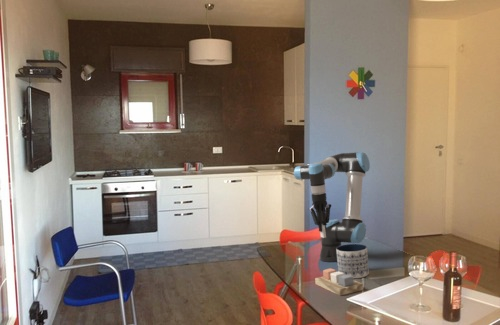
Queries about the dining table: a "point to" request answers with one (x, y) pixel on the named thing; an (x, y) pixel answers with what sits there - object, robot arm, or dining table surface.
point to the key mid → (336, 276)
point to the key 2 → (346, 280)
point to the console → (338, 286)
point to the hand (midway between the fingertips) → (323, 237)
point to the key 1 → (328, 273)
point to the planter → (353, 260)
